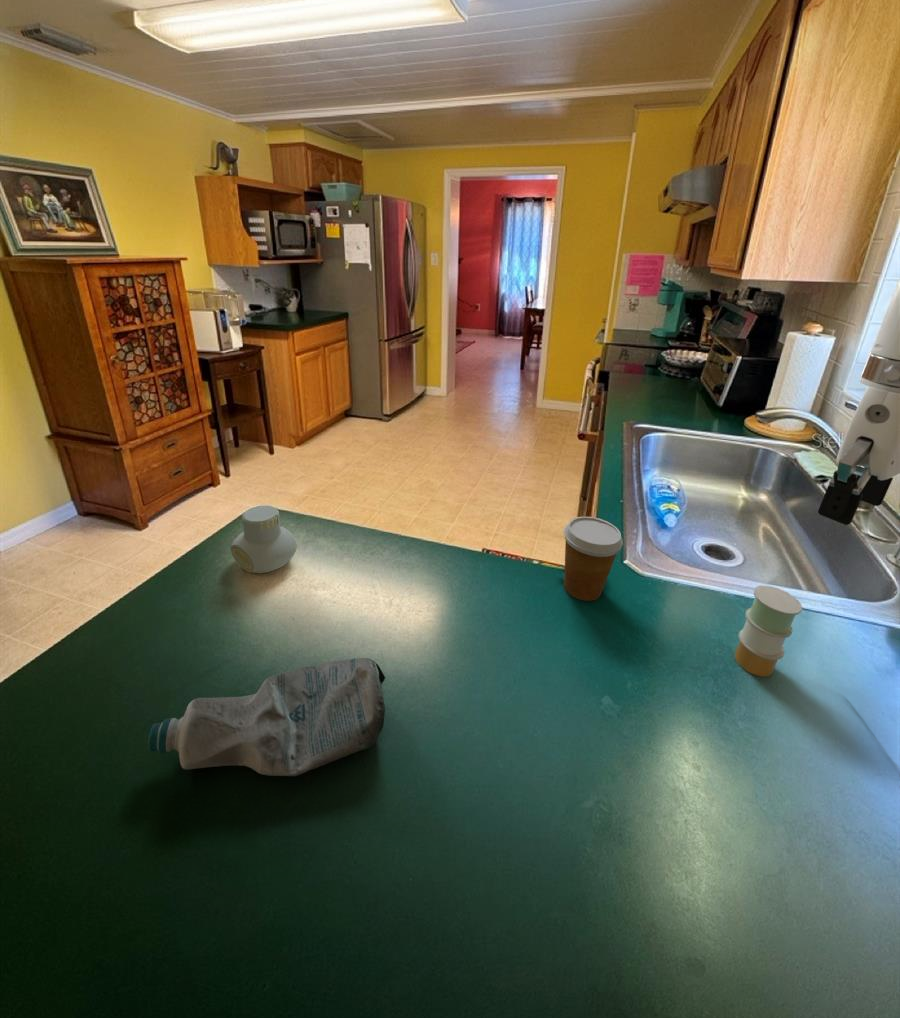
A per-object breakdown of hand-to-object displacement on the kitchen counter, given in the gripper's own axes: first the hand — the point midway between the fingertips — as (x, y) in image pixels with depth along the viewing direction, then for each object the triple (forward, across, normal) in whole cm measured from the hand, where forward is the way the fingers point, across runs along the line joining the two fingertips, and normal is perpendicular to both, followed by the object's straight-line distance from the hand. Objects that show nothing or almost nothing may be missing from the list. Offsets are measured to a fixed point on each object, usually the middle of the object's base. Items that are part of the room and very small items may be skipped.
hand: (849, 509), depth 59 cm
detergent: (+26, -65, +26) cm, 74 cm away
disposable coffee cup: (+26, -13, +26) cm, 40 cm away
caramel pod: (+26, -3, +3) cm, 27 cm away
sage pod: (+18, -3, +3) cm, 19 cm away
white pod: (+22, -3, +3) cm, 23 cm away
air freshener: (+26, -58, +60) cm, 87 cm away
